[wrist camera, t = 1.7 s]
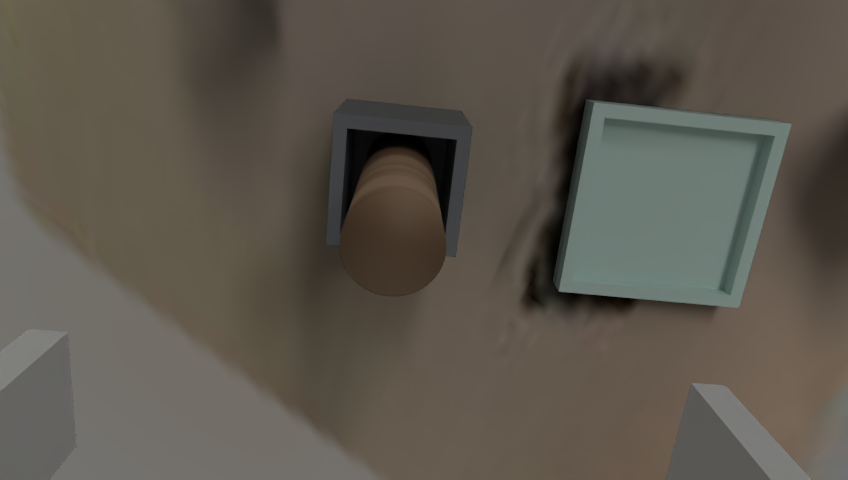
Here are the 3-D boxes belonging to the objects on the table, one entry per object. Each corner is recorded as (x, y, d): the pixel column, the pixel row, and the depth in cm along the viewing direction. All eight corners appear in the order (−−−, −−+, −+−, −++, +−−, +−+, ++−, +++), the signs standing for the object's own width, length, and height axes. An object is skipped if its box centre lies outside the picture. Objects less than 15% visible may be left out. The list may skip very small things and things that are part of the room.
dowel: (368, 127, 38) (343, 190, 23) (434, 134, 38) (452, 201, 23) (363, 191, 39) (336, 291, 24) (427, 198, 39) (440, 300, 24)
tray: (585, 99, 38) (594, 102, 37) (774, 119, 39) (791, 123, 37) (552, 281, 42) (558, 291, 40) (725, 297, 43) (739, 307, 41)
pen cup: (346, 98, 38) (333, 112, 31) (461, 111, 38) (472, 127, 32) (339, 209, 40) (325, 244, 34) (447, 220, 41) (455, 256, 34)
